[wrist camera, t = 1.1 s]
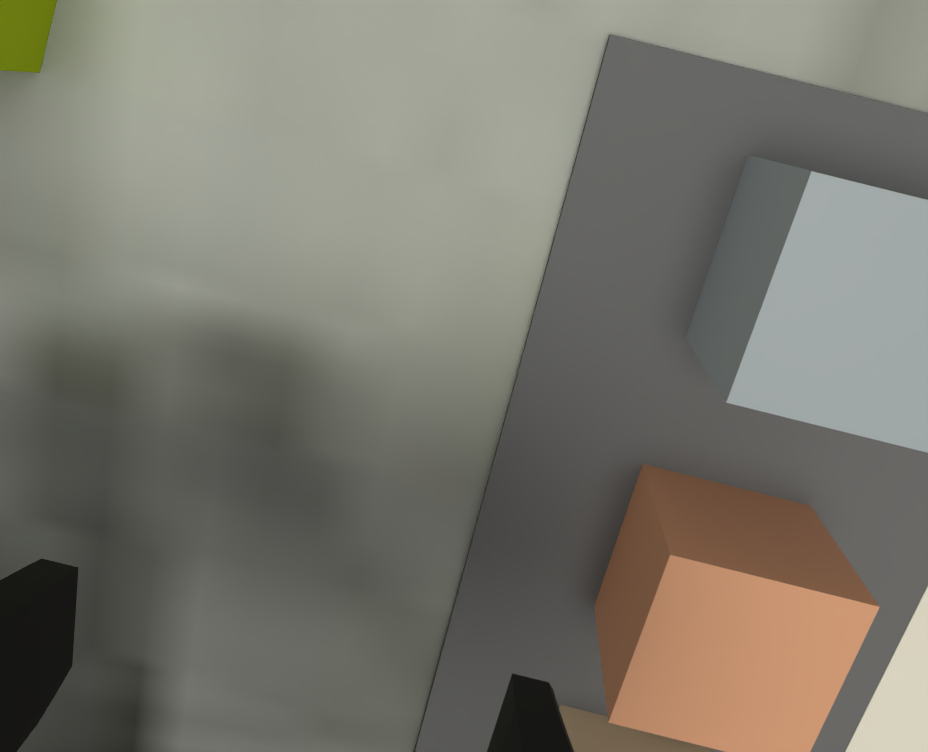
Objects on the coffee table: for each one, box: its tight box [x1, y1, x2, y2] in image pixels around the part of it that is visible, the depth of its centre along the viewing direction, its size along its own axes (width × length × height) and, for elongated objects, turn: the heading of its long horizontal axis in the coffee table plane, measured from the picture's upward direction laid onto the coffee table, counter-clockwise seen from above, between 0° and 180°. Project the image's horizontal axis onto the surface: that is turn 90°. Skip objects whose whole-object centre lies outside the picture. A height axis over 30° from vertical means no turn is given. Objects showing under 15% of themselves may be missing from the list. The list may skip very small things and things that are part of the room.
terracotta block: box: [594, 464, 880, 752], centre depth 20 cm, size 4×4×4 cm
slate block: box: [685, 155, 928, 453], centre depth 17 cm, size 4×4×4 cm
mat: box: [414, 34, 928, 752], centre depth 22 cm, size 24×22×1 cm
